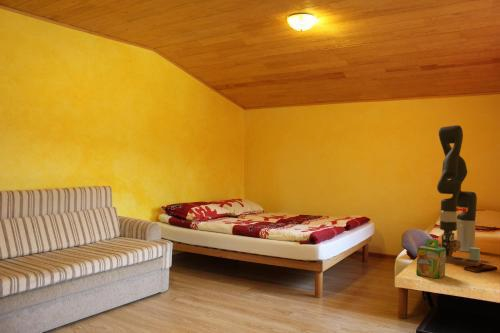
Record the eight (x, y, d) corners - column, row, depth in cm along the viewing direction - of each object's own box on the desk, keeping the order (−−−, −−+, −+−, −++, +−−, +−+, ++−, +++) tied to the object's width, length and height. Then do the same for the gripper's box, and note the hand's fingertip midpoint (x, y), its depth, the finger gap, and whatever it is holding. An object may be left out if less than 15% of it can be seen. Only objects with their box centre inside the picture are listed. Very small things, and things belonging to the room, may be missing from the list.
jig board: (434, 256, 218) (434, 253, 218) (482, 263, 204) (482, 260, 204) (426, 259, 208) (426, 256, 208) (476, 267, 194) (476, 263, 194)
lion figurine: (462, 258, 205) (463, 240, 206) (457, 259, 202) (458, 240, 202) (432, 253, 217) (433, 235, 217) (427, 254, 213) (428, 236, 213)
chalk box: (415, 275, 175) (416, 239, 175) (423, 271, 182) (423, 237, 182) (439, 279, 169) (440, 242, 169) (445, 275, 176) (446, 239, 176)
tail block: (470, 259, 214) (471, 247, 214) (479, 260, 212) (480, 248, 212) (469, 260, 211) (469, 248, 211) (478, 261, 208) (478, 249, 209)
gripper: (444, 218, 216) (443, 252, 216) (436, 220, 205) (435, 255, 205) (460, 220, 211) (459, 254, 211) (452, 222, 200) (452, 258, 200)
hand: (447, 254), depth 208 cm, fingers closed on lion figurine, 5 cm apart
